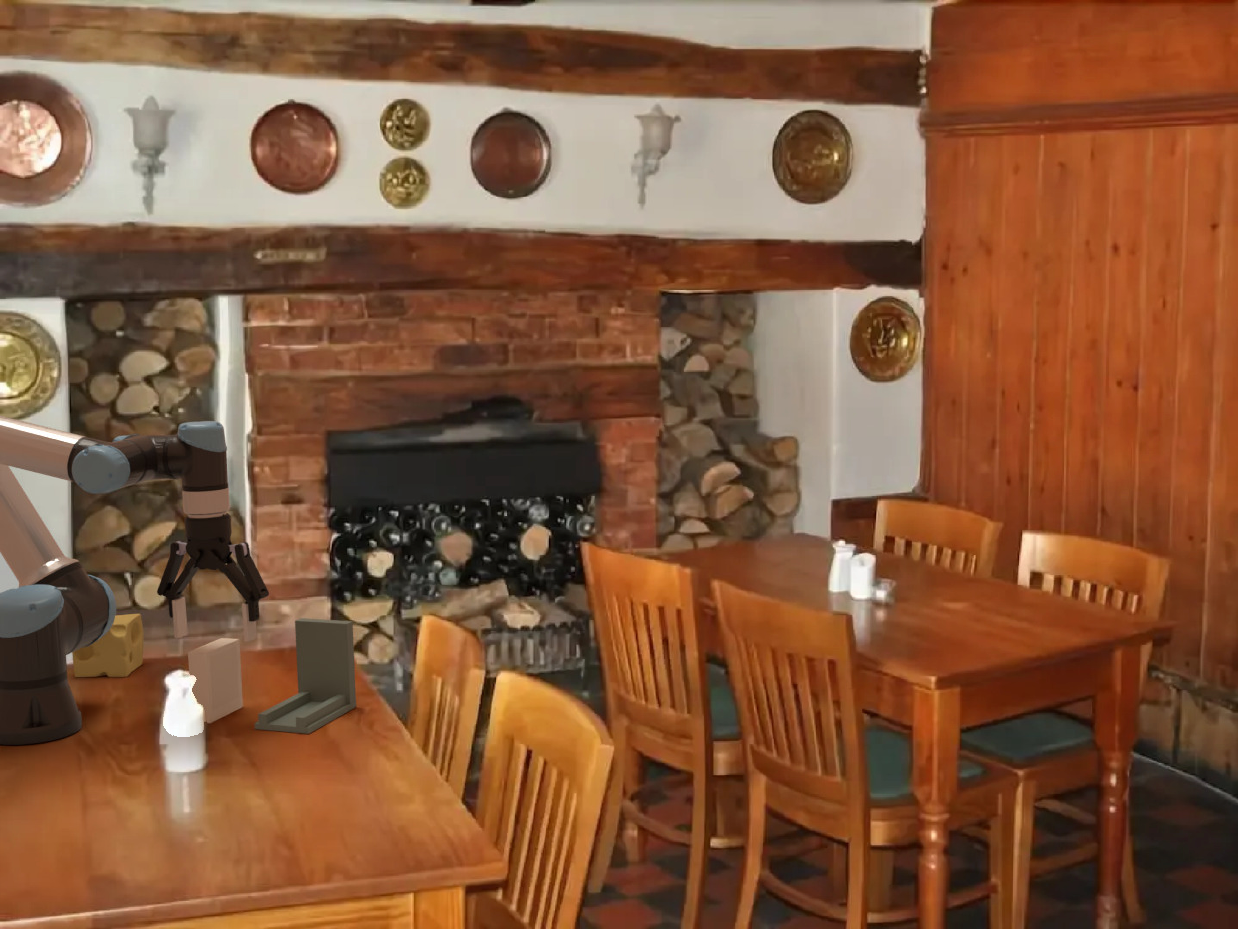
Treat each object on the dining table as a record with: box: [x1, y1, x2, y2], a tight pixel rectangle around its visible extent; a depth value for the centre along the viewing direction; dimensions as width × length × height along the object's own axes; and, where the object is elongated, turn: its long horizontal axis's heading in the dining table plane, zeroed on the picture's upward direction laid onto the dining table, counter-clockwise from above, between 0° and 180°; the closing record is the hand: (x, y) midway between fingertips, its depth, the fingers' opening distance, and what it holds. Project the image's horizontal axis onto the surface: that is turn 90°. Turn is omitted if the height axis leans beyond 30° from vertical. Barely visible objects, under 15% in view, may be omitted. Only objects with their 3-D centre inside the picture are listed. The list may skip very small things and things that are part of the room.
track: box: [254, 617, 357, 735], centre depth 258 cm, size 16×10×15 cm, turn 161°
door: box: [187, 637, 244, 724], centre depth 262 cm, size 10×4×12 cm, turn 161°
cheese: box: [71, 613, 144, 678], centre depth 293 cm, size 10×11×10 cm
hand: (215, 638), depth 261 cm, fingers open, 13 cm apart
